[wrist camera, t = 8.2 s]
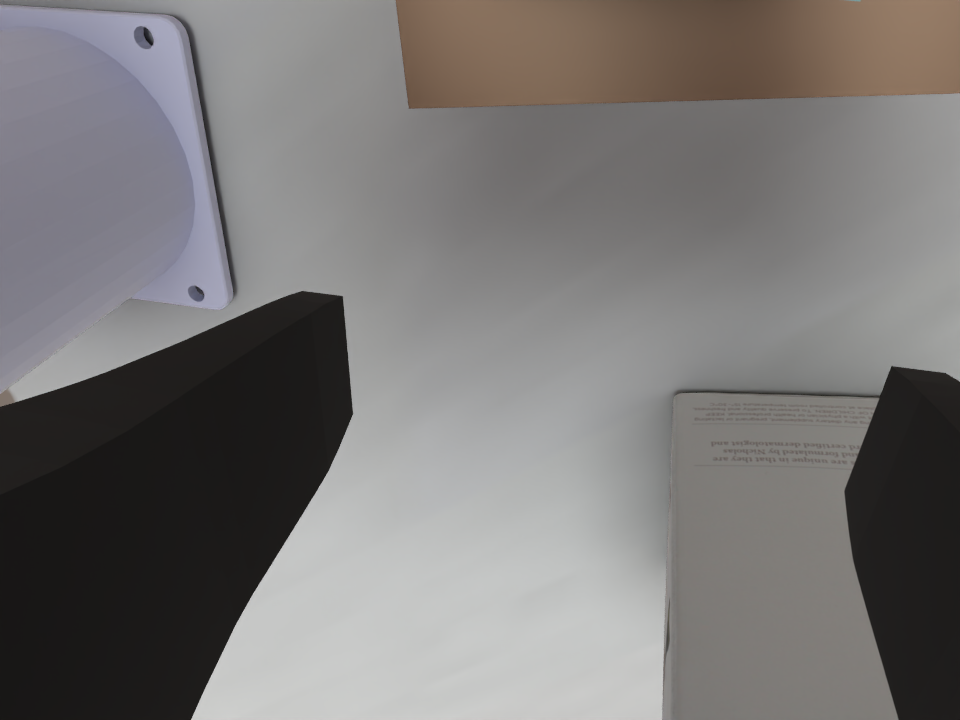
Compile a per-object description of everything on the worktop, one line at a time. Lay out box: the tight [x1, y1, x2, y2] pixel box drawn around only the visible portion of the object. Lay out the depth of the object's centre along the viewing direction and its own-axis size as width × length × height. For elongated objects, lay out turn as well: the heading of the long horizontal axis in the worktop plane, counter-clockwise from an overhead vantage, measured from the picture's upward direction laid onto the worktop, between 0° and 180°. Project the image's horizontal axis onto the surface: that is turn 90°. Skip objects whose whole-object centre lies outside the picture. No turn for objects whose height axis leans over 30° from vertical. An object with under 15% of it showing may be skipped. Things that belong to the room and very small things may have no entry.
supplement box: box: [662, 393, 898, 720], centre depth 16 cm, size 7×7×13 cm
